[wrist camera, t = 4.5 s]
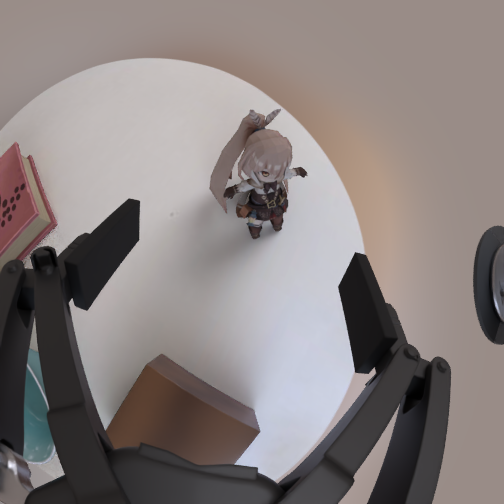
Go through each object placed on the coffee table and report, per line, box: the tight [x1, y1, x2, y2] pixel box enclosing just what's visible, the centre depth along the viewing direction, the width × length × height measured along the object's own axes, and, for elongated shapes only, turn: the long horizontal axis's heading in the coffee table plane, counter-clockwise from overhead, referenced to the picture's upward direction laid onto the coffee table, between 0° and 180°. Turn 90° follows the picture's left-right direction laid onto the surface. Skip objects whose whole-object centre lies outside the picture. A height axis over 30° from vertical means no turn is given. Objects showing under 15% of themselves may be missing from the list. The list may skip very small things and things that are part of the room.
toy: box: [210, 109, 308, 239], centre depth 26 cm, size 9×8×15 cm
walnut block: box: [106, 354, 260, 465], centre depth 23 cm, size 12×12×6 cm
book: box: [0, 142, 57, 272], centre depth 26 cm, size 14×15×5 cm
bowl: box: [23, 348, 56, 464], centre depth 21 cm, size 16×16×8 cm
